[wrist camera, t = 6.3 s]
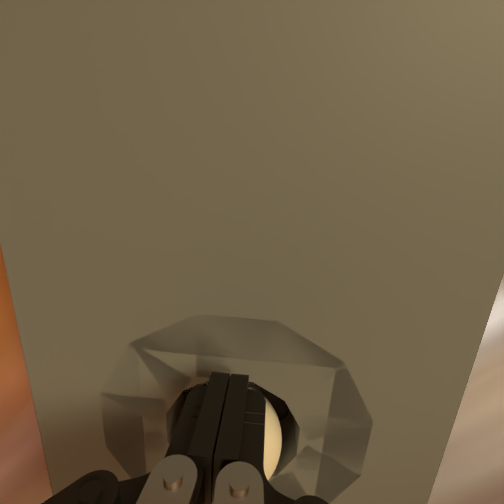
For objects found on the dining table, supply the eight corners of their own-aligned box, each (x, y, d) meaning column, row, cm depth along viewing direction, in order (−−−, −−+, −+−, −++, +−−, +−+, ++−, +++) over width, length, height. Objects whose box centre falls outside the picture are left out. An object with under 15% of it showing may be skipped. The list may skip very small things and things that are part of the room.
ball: (266, 378, 19) (268, 367, 15) (289, 472, 17) (300, 493, 12) (188, 399, 19) (165, 394, 14) (201, 499, 16) (178, 531, 12)
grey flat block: (517, 34, 12) (596, -6, 9) (387, 505, 20) (406, 565, 17) (18, 17, 13) (-56, -22, 10) (88, 470, 21) (58, 520, 18)
